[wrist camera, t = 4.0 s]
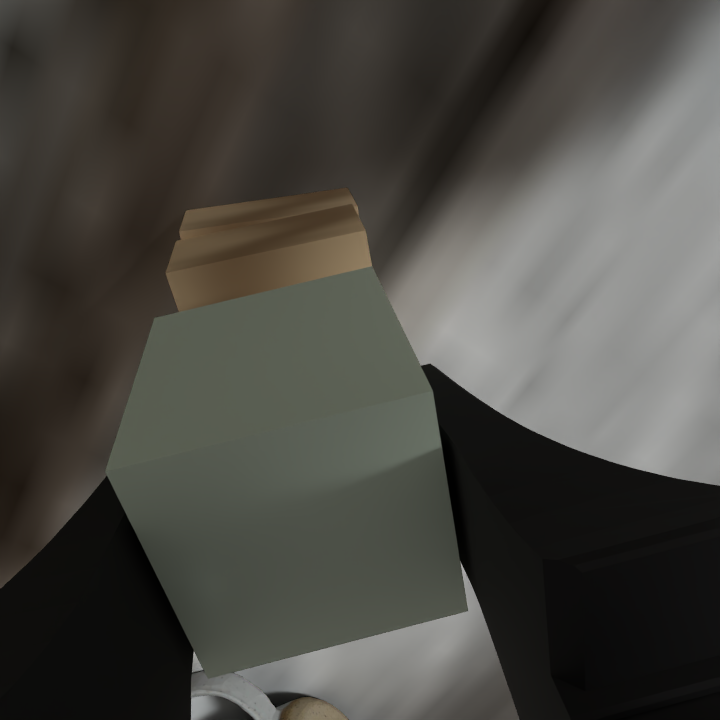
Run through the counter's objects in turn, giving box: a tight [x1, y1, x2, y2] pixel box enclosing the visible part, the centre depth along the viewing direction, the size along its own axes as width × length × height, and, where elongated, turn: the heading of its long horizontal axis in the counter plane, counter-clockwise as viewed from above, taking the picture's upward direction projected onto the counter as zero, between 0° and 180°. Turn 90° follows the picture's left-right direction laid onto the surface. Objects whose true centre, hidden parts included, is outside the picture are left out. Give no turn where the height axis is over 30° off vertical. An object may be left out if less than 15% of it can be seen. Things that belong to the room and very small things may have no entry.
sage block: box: [105, 266, 468, 679], centre depth 12 cm, size 4×4×5 cm
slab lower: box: [179, 188, 359, 240], centre depth 20 cm, size 5×5×2 cm
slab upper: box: [166, 204, 372, 312], centre depth 18 cm, size 5×5×2 cm
